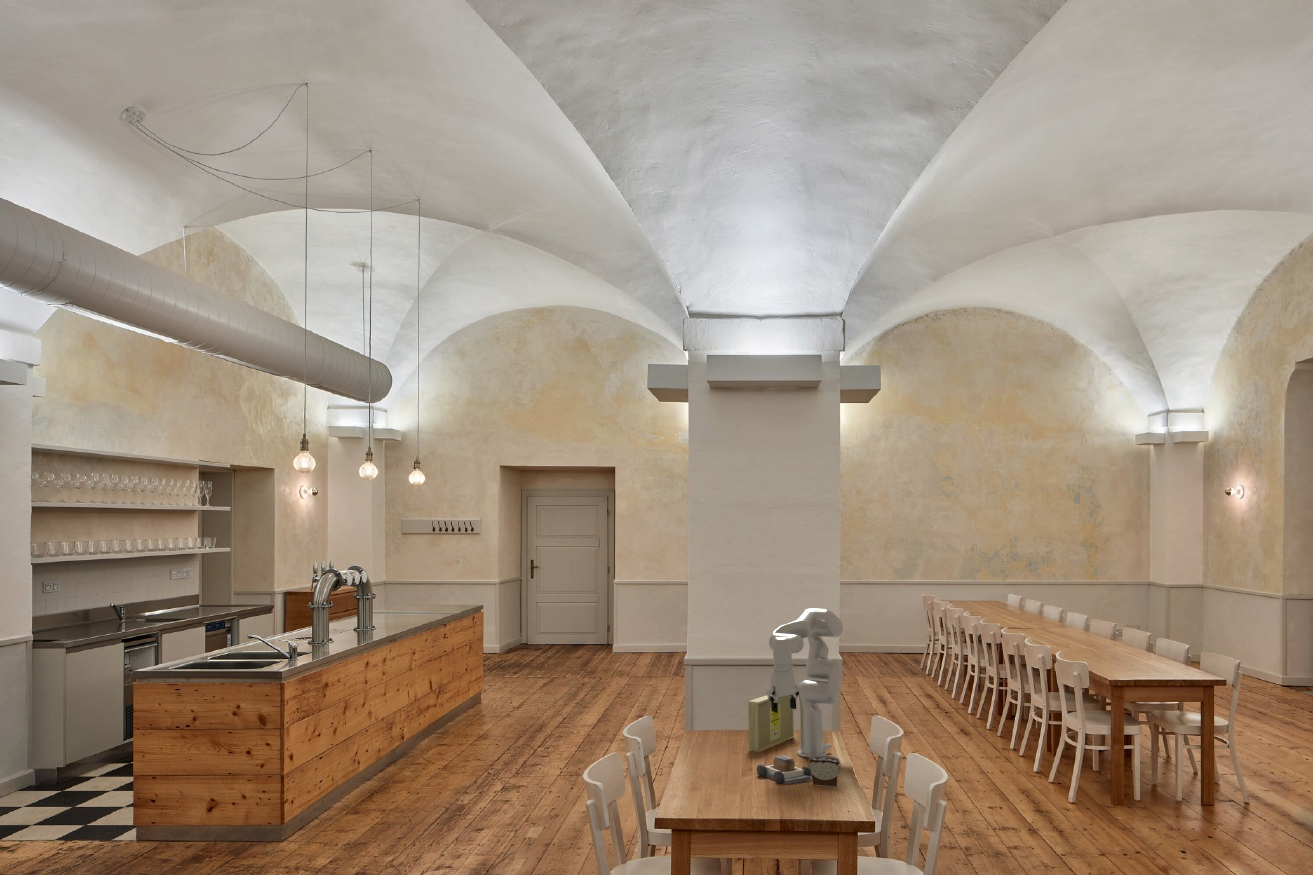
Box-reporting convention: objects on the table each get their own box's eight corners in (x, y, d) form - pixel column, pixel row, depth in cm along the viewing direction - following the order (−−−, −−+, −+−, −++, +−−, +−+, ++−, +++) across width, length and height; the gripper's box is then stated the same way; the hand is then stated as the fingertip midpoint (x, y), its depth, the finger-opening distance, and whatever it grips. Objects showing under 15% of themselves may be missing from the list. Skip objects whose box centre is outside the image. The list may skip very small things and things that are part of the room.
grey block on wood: (783, 770, 370) (783, 754, 370) (794, 774, 364) (794, 758, 364) (773, 771, 367) (773, 756, 368) (784, 775, 361) (784, 760, 362)
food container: (843, 783, 356) (842, 756, 357) (841, 787, 351) (840, 760, 352) (811, 780, 360) (810, 754, 361) (808, 784, 355) (808, 757, 356)
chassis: (784, 769, 377) (784, 758, 377) (813, 779, 361) (813, 768, 362) (754, 774, 369) (754, 763, 369) (783, 785, 354) (783, 773, 354)
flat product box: (785, 736, 438) (784, 689, 440) (794, 738, 435) (793, 690, 437) (748, 750, 409) (748, 700, 411) (757, 752, 406) (757, 701, 409)
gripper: (793, 663, 387) (794, 705, 386) (760, 668, 378) (761, 711, 377) (805, 666, 381) (806, 708, 380) (772, 671, 371) (773, 715, 370)
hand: (784, 710), depth 378 cm, fingers open, 9 cm apart
